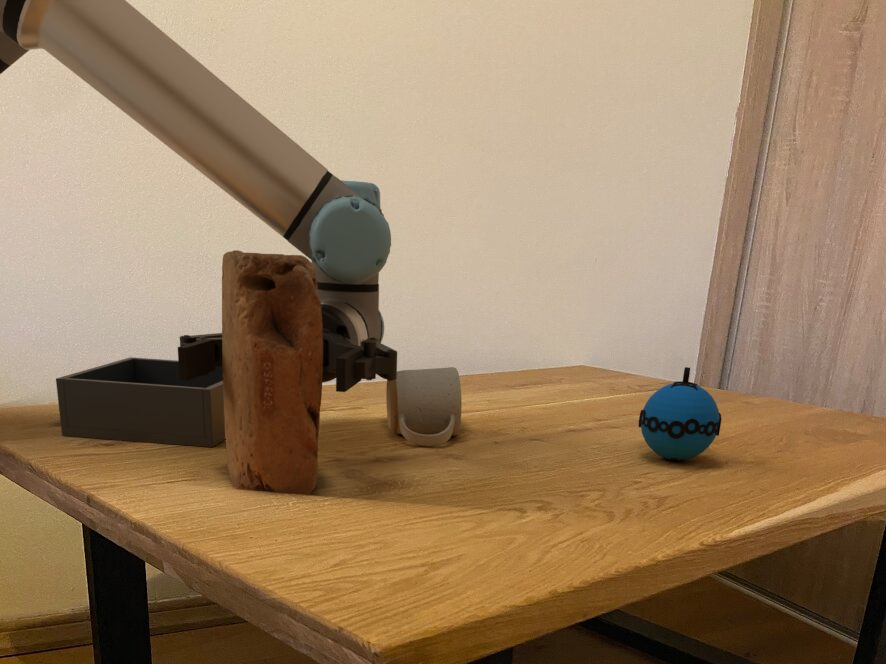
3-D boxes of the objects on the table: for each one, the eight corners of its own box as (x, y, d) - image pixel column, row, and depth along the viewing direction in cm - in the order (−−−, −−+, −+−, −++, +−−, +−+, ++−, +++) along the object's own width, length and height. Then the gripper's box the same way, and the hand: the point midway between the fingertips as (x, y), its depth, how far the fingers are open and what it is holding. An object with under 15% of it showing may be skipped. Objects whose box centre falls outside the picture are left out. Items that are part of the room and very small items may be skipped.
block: (223, 474, 87) (213, 247, 79) (301, 471, 90) (299, 250, 82) (244, 507, 78) (235, 253, 70) (331, 502, 80) (331, 256, 73)
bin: (61, 435, 98) (55, 378, 96) (134, 406, 115) (130, 357, 112) (212, 447, 97) (210, 389, 95) (264, 416, 113) (263, 366, 111)
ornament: (712, 473, 97) (728, 376, 94) (630, 463, 99) (642, 368, 96) (715, 456, 105) (730, 366, 101) (639, 447, 107) (650, 359, 103)
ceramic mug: (383, 426, 111) (385, 361, 108) (451, 427, 112) (454, 362, 109) (393, 448, 101) (395, 377, 98) (466, 449, 102) (471, 378, 99)
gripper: (440, 386, 96) (407, 425, 77) (210, 369, 99) (121, 404, 79) (444, 311, 94) (410, 332, 74) (207, 296, 96) (113, 312, 76)
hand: (260, 369), depth 77 cm, fingers open, 13 cm apart
